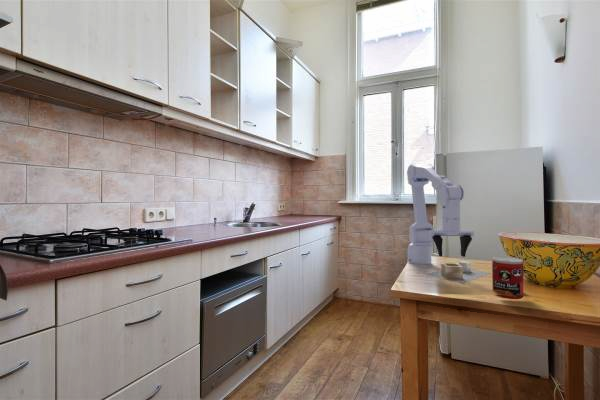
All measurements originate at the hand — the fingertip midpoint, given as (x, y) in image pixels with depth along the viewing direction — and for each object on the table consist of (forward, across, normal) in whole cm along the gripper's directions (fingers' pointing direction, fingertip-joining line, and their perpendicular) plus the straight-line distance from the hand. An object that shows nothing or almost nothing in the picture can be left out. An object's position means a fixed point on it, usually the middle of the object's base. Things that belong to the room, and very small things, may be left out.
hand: (451, 256), depth 107 cm
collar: (+7, 0, 0) cm, 7 cm away
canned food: (+9, +11, -16) cm, 21 cm away
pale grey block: (+7, +7, +7) cm, 12 cm away
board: (+8, +4, +4) cm, 10 cm away
